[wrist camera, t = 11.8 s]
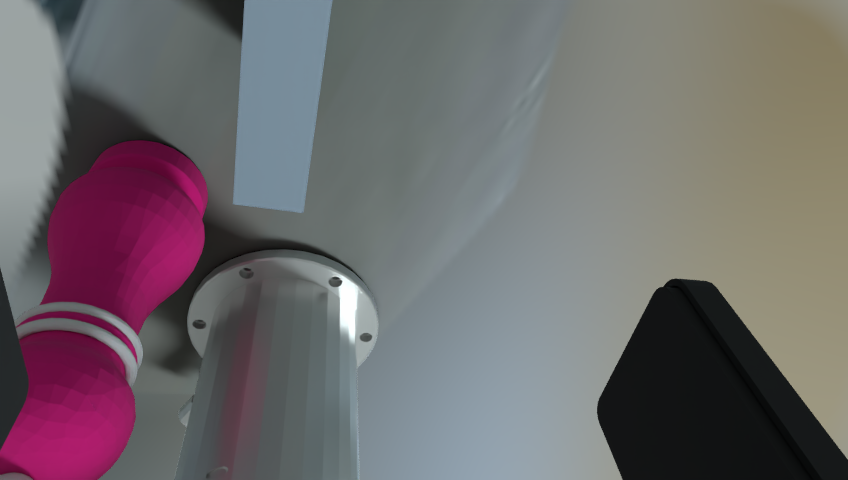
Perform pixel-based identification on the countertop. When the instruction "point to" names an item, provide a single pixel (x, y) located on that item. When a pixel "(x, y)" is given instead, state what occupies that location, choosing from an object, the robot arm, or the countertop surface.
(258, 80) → the light blue flat board
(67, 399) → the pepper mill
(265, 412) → the robot arm
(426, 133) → the countertop surface
